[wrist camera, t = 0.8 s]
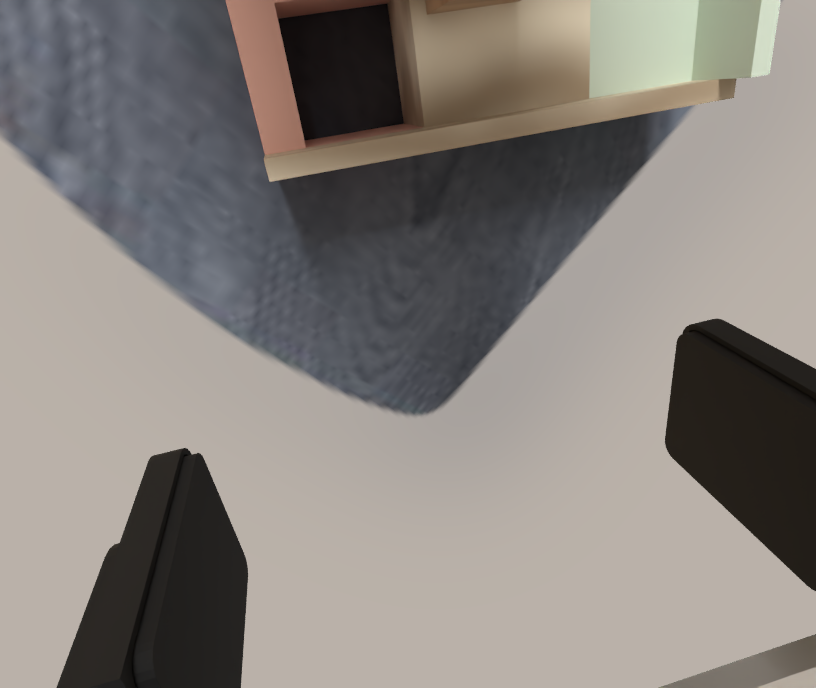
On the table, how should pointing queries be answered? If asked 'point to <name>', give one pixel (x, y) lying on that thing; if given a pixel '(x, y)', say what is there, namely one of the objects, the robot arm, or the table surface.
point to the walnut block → (459, 4)
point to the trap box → (509, 70)
